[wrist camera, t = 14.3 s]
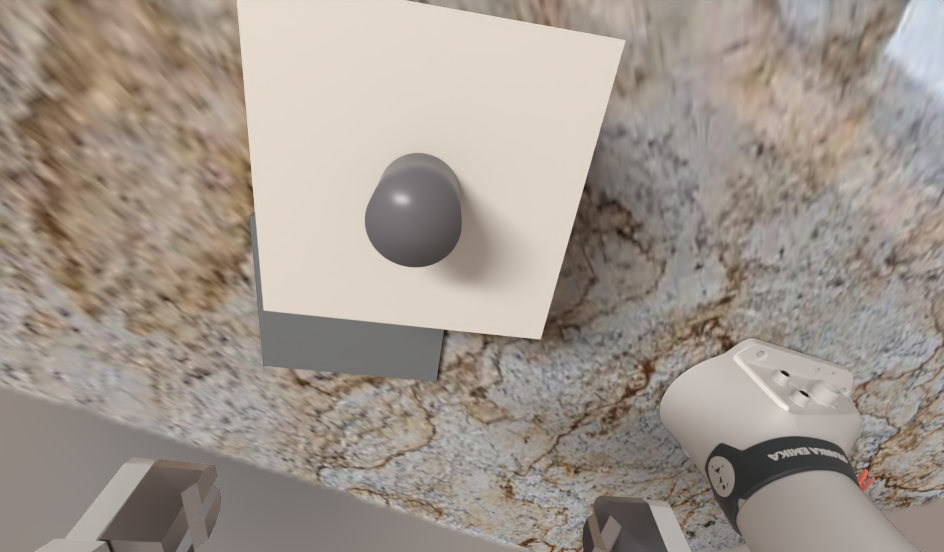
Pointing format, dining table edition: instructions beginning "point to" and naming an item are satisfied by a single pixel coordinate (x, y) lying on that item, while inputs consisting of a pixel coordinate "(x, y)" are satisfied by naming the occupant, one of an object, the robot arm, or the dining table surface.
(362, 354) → the mat
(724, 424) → the robot arm
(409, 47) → the cube with grey knob
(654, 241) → the dining table surface
